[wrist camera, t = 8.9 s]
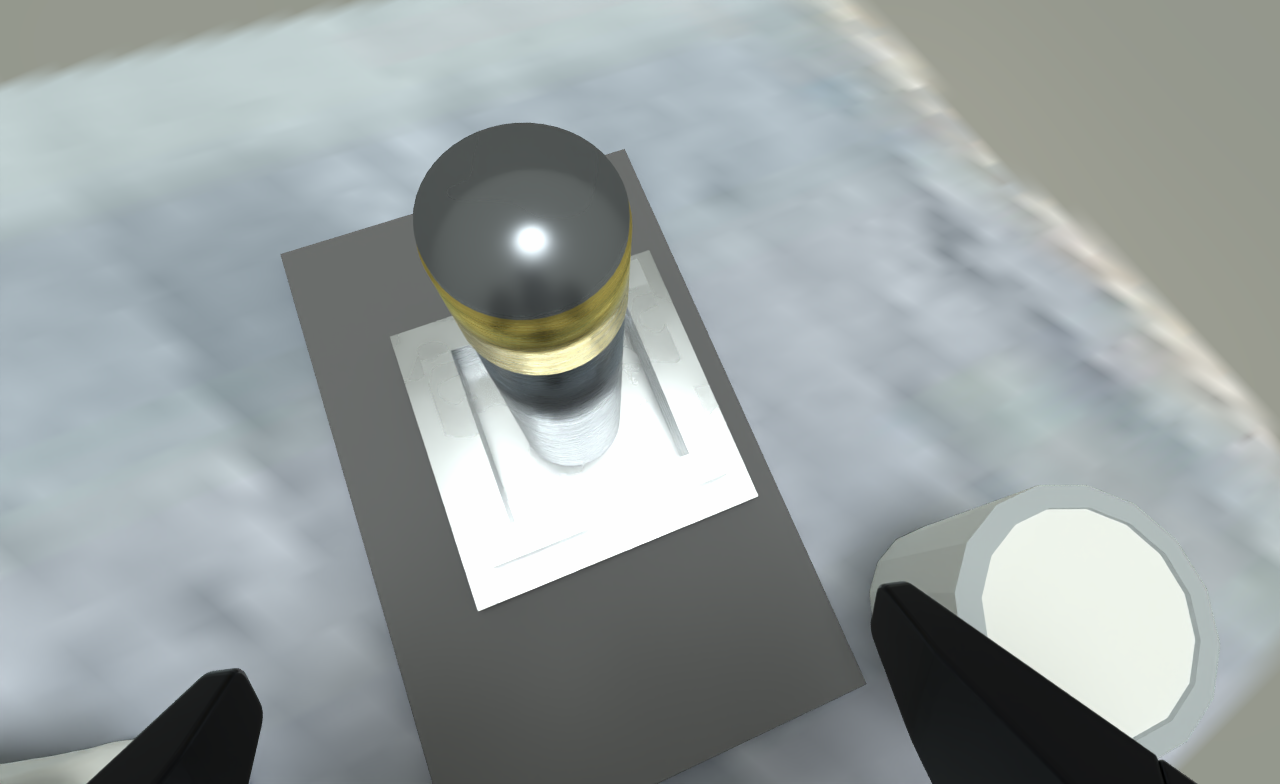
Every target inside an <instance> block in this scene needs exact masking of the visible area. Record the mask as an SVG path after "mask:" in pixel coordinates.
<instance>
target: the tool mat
mask: <svg viewBox="0 0 1280 784" xmlns="http://www.w3.org/2000/svg"><path fill="white" fill-rule="evenodd" d="M605 156H606V157H607V158H608V159H609V160H610V162H611V163H612V164H613V166H614V167H615V169H616V170H617V172H618V174H619V175H620V177H621V179H622V181H623V184H624V187H625V189H626V192H627V196H628V201H629V204H630V209H631V214H632V242H631V256H633V255H636V254H639V253H642V252H645V251H648V250H649V251H650V253H651V255H652V257H653V260H654V262H655V264H656V267H657V269H658V271H659V273H660V276H661V278H662V280H663V282H664V285H665V287H666V289H667V291H668V294H669V296H670V298H671V300H672V303H673V305H674V307H675V309H676V312H677V314H678V316H679V318H680V321H681V323H682V325H683V327H684V330H685V332H686V334H687V336H688V339H689V341H690V343H691V345H692V348H693V350H694V352H695V354H696V357H697V359H698V361H699V363H700V366H701V368H702V370H703V372H704V375H705V377H706V379H707V382H708V384H709V386H710V388H711V391H712V393H713V395H714V397H715V400H716V402H717V404H718V406H719V409H720V411H721V413H722V415H723V418H724V420H725V422H726V424H727V427H728V429H729V431H730V433H731V436H732V438H733V440H734V442H735V445H736V447H737V449H738V451H739V454H740V456H741V458H742V460H743V463H744V465H745V467H746V469H747V472H748V474H749V476H750V478H751V481H752V483H753V485H754V487H755V490H756V492H757V494H758V496H757V497H755V498H754V499H751V500H749V501H746V502H744V503H741V504H739V505H737V506H734V507H732V508H729V509H727V510H724V511H722V512H720V513H717V514H715V515H712V516H710V517H707V518H705V519H703V520H700V521H698V522H695V523H693V524H690V525H688V526H685V527H683V528H681V529H678V530H676V531H673V532H671V533H668V534H666V535H664V536H661V537H659V538H656V539H654V540H651V541H649V542H647V543H644V544H642V545H639V546H637V547H634V548H632V549H630V550H627V551H625V552H622V553H620V554H617V555H615V556H612V557H610V558H608V559H605V560H603V561H600V562H598V563H595V564H593V565H591V566H588V567H586V568H583V569H581V570H578V571H576V572H574V573H571V574H569V575H566V576H564V577H561V578H559V579H556V580H554V581H552V582H549V583H547V584H544V585H542V586H539V587H537V588H535V589H532V590H530V591H527V592H525V593H522V594H520V595H518V596H515V597H513V598H510V599H508V600H505V601H503V602H501V603H498V604H496V605H493V606H491V607H488V608H486V609H483V610H480V611H478V609H477V606H476V603H475V600H474V597H473V594H472V591H471V587H470V584H469V581H468V578H467V575H466V572H465V569H464V566H463V563H462V559H461V556H460V553H459V550H458V547H457V544H456V541H455V538H454V535H453V532H452V528H451V525H450V522H449V519H448V516H447V513H446V510H445V507H444V504H443V501H442V497H441V494H440V491H439V488H438V485H437V482H436V479H435V476H434V473H433V470H432V466H431V463H430V460H429V457H428V454H427V451H426V448H425V445H424V442H423V439H422V435H421V432H420V429H419V426H418V423H417V420H416V417H415V414H414V411H413V407H412V404H411V401H410V398H409V395H408V392H407V389H406V386H405V383H404V380H403V376H402V373H401V370H400V367H399V364H398V361H397V358H396V355H395V352H394V349H393V345H392V342H391V339H390V336H393V335H396V334H399V333H402V332H405V331H408V330H411V329H414V328H417V327H420V326H423V325H426V324H429V323H432V322H435V321H438V320H441V319H444V318H447V317H450V316H452V315H451V313H450V311H449V310H448V308H447V306H446V304H445V303H444V301H443V299H442V298H441V296H440V294H439V293H438V291H437V289H436V288H435V286H434V284H433V282H432V281H431V279H430V277H429V276H428V274H427V272H426V271H425V269H424V267H423V264H422V262H421V259H420V257H419V253H418V249H417V245H416V240H415V236H414V229H413V214H411V215H407V216H404V217H401V218H398V219H394V220H391V221H388V222H385V223H381V224H378V225H375V226H371V227H368V228H365V229H362V230H358V231H355V232H352V233H349V234H345V235H342V236H339V237H335V238H332V239H329V240H326V241H322V242H319V243H316V244H313V245H309V246H306V247H303V248H299V249H296V250H293V251H290V252H286V253H283V254H281V258H282V261H283V265H284V268H285V272H286V275H287V279H288V282H289V286H290V289H291V292H292V296H293V299H294V303H295V306H296V310H297V313H298V317H299V320H300V324H301V327H302V331H303V334H304V338H305V341H306V345H307V348H308V352H309V355H310V359H311V362H312V365H313V369H314V372H315V376H316V379H317V383H318V386H319V390H320V393H321V397H322V400H323V404H324V407H325V411H326V414H327V418H328V421H329V425H330V428H331V432H332V435H333V439H334V442H335V445H336V449H337V452H338V456H339V459H340V463H341V466H342V470H343V473H344V477H345V480H346V484H347V487H348V491H349V494H350V498H351V501H352V505H353V508H354V512H355V515H356V518H357V522H358V525H359V529H360V532H361V536H362V539H363V543H364V546H365V550H366V553H367V557H368V560H369V564H370V567H371V571H372V574H373V578H374V581H375V585H376V588H377V591H378V595H379V598H380V602H381V605H382V609H383V612H384V616H385V619H386V623H387V626H388V630H389V633H390V637H391V640H392V644H393V647H394V651H395V654H396V658H397V661H398V665H399V668H400V671H401V675H402V678H403V682H404V685H405V689H406V692H407V696H408V699H409V703H410V706H411V710H412V713H413V717H414V720H415V724H416V727H417V731H418V734H419V738H420V741H421V744H422V748H423V751H424V755H425V758H426V762H427V765H428V769H429V772H430V776H431V779H432V783H433V784H658V783H660V782H662V781H664V780H666V779H668V778H670V777H672V776H674V775H677V774H679V773H681V772H683V771H685V770H687V769H689V768H691V767H693V766H695V765H698V764H700V763H702V762H704V761H706V760H708V759H710V758H712V757H714V756H716V755H719V754H721V753H723V752H725V751H727V750H729V749H731V748H733V747H735V746H738V745H740V744H742V743H744V742H746V741H748V740H750V739H752V738H754V737H756V736H759V735H761V734H763V733H765V732H767V731H769V730H771V729H773V728H775V727H777V726H780V725H782V724H784V723H786V722H788V721H790V720H792V719H794V718H796V717H799V716H801V715H803V714H805V713H807V712H809V711H811V710H813V709H815V708H817V707H820V706H822V705H824V704H826V703H828V702H830V701H832V700H834V699H836V698H838V697H841V696H843V695H845V694H847V693H849V692H851V691H853V690H855V689H857V688H859V687H862V686H864V685H866V682H865V680H864V677H863V675H862V673H861V671H860V669H859V666H858V664H857V662H856V660H855V658H854V655H853V653H852V651H851V649H850V646H849V644H848V642H847V640H846V638H845V635H844V633H843V631H842V629H841V627H840V624H839V622H838V620H837V618H836V616H835V613H834V611H833V609H832V607H831V604H830V602H829V600H828V598H827V596H826V593H825V591H824V589H823V587H822V585H821V582H820V580H819V578H818V576H817V574H816V571H815V569H814V567H813V565H812V562H811V560H810V558H809V556H808V554H807V551H806V549H805V547H804V545H803V543H802V540H801V538H800V536H799V534H798V532H797V529H796V527H795V525H794V523H793V520H792V518H791V516H790V514H789V512H788V509H787V507H786V505H785V503H784V501H783V498H782V496H781V494H780V492H779V490H778V487H777V485H776V483H775V481H774V478H773V476H772V474H771V472H770V470H769V467H768V465H767V463H766V461H765V459H764V456H763V454H762V452H761V450H760V448H759V445H758V443H757V441H756V439H755V436H754V434H753V432H752V430H751V428H750V425H749V423H748V421H747V419H746V417H745V414H744V412H743V410H742V408H741V406H740V403H739V401H738V399H737V397H736V394H735V392H734V390H733V388H732V386H731V383H730V381H729V379H728V377H727V375H726V372H725V370H724V368H723V366H722V363H721V361H720V359H719V357H718V355H717V352H716V350H715V348H714V346H713V344H712V341H711V339H710V337H709V335H708V333H707V330H706V328H705V326H704V324H703V321H702V319H701V317H700V315H699V313H698V310H697V308H696V306H695V304H694V302H693V299H692V297H691V295H690V293H689V291H688V288H687V286H686V284H685V282H684V279H683V277H682V275H681V273H680V271H679V268H678V266H677V264H676V262H675V260H674V257H673V255H672V253H671V251H670V249H669V246H668V244H667V242H666V240H665V237H664V235H663V233H662V231H661V229H660V226H659V224H658V222H657V220H656V218H655V215H654V213H653V211H652V209H651V207H650V204H649V202H648V200H647V198H646V195H645V193H644V191H643V189H642V187H641V184H640V182H639V180H638V178H637V176H636V173H635V171H634V169H633V167H632V165H631V162H630V160H629V158H628V156H627V153H626V151H625V149H623V150H620V151H617V152H613V153H610V154H607V155H605Z"/></svg>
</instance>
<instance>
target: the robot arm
mask: <svg viewBox="0 0 1280 784" xmlns="http://www.w3.org/2000/svg"><path fill="white" fill-rule="evenodd" d="M871 631H872V636H873V639H874V642H875V645H876V647H877V650H878V653H879V656H880V658H881V661H882V664H883V666H884V669H885V672H886V674H887V677H888V680H889V683H890V685H891V688H892V691H893V693H894V696H895V699H896V701H897V704H898V707H899V710H900V712H901V715H902V718H903V720H904V723H905V725H906V728H907V731H908V733H909V736H910V738H911V740H912V743H913V745H914V747H915V749H916V751H917V753H918V756H919V758H920V760H921V762H922V764H923V766H924V768H925V770H926V772H927V774H928V776H929V778H930V780H931V782H932V784H1197V783H1195V782H1194V781H1193V780H1191V779H1190V778H1188V777H1187V776H1186V775H1184V774H1183V773H1181V772H1180V771H1179V770H1177V769H1176V768H1174V767H1173V766H1171V765H1170V764H1169V763H1167V762H1166V761H1164V760H1158V758H1157V756H1156V755H1155V754H1154V753H1152V752H1151V751H1150V750H1148V749H1147V748H1145V747H1144V746H1142V745H1141V744H1140V743H1138V742H1137V741H1135V740H1134V739H1132V738H1131V737H1130V736H1128V735H1127V734H1125V733H1124V732H1122V731H1121V730H1120V729H1118V728H1117V727H1115V726H1114V725H1112V724H1111V723H1110V722H1108V721H1107V720H1105V719H1104V718H1102V717H1101V716H1100V715H1098V714H1097V713H1095V712H1094V711H1092V710H1091V709H1090V708H1088V707H1087V706H1085V705H1084V704H1082V703H1081V702H1080V701H1078V700H1077V699H1075V698H1074V697H1072V696H1071V695H1070V694H1068V693H1067V692H1065V691H1064V690H1062V689H1061V688H1060V687H1058V686H1057V685H1055V684H1054V683H1053V682H1051V681H1050V680H1048V679H1047V678H1045V677H1044V676H1043V675H1041V674H1040V673H1038V672H1037V671H1035V670H1034V669H1033V668H1031V667H1030V666H1028V665H1027V664H1025V663H1024V662H1023V661H1021V660H1020V659H1018V658H1017V657H1015V656H1014V655H1013V654H1011V653H1010V652H1008V651H1007V650H1005V649H1004V648H1003V647H1001V646H1000V645H998V644H997V643H995V642H994V641H993V640H991V639H990V638H988V637H987V636H985V635H984V634H983V633H981V632H980V631H978V630H977V629H975V628H974V627H973V626H971V625H970V624H968V623H967V622H965V621H964V620H963V619H961V618H960V617H958V616H957V615H955V614H954V613H953V612H951V611H950V610H948V609H947V608H945V607H944V606H943V605H941V604H940V603H938V602H937V601H935V600H934V599H933V598H931V597H930V596H928V595H927V594H925V593H924V592H923V591H921V590H920V589H918V588H917V587H915V586H914V585H912V584H911V583H909V582H906V581H899V582H891V583H884V584H881V585H880V586H879V587H878V589H877V592H876V597H875V603H874V608H873V613H872V619H871ZM262 719H263V711H262V706H261V703H260V701H259V699H258V697H257V695H256V693H255V691H254V689H253V688H252V686H251V684H250V682H249V680H248V678H247V676H246V674H245V672H244V671H242V670H241V669H239V668H233V669H225V670H217V671H212V672H209V673H206V674H205V675H203V676H202V677H201V678H200V679H198V680H197V681H196V682H195V683H194V684H193V685H192V686H191V687H190V688H189V689H188V690H187V691H186V692H184V693H183V694H182V695H181V696H180V697H179V698H178V699H177V700H176V701H175V702H174V703H173V704H172V705H170V706H169V707H168V708H167V709H166V710H165V711H164V712H163V713H162V714H161V715H160V716H159V717H158V718H156V719H155V720H154V721H153V722H152V723H151V724H150V725H149V726H148V727H147V728H146V729H145V730H144V731H142V732H141V733H140V734H139V735H138V736H137V737H136V738H135V739H134V740H133V741H132V742H131V743H130V744H128V745H127V746H126V747H125V748H124V749H123V750H122V751H121V752H120V753H119V754H118V755H117V756H116V757H114V758H113V759H112V760H111V761H110V762H109V763H108V764H107V765H106V766H105V767H104V768H103V769H102V770H100V771H99V772H98V773H97V774H96V775H95V776H94V777H93V778H92V779H91V780H90V781H89V782H88V783H86V784H249V779H250V775H251V770H252V766H253V761H254V757H255V753H256V748H257V744H258V739H259V735H260V730H261V726H262Z"/></svg>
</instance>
